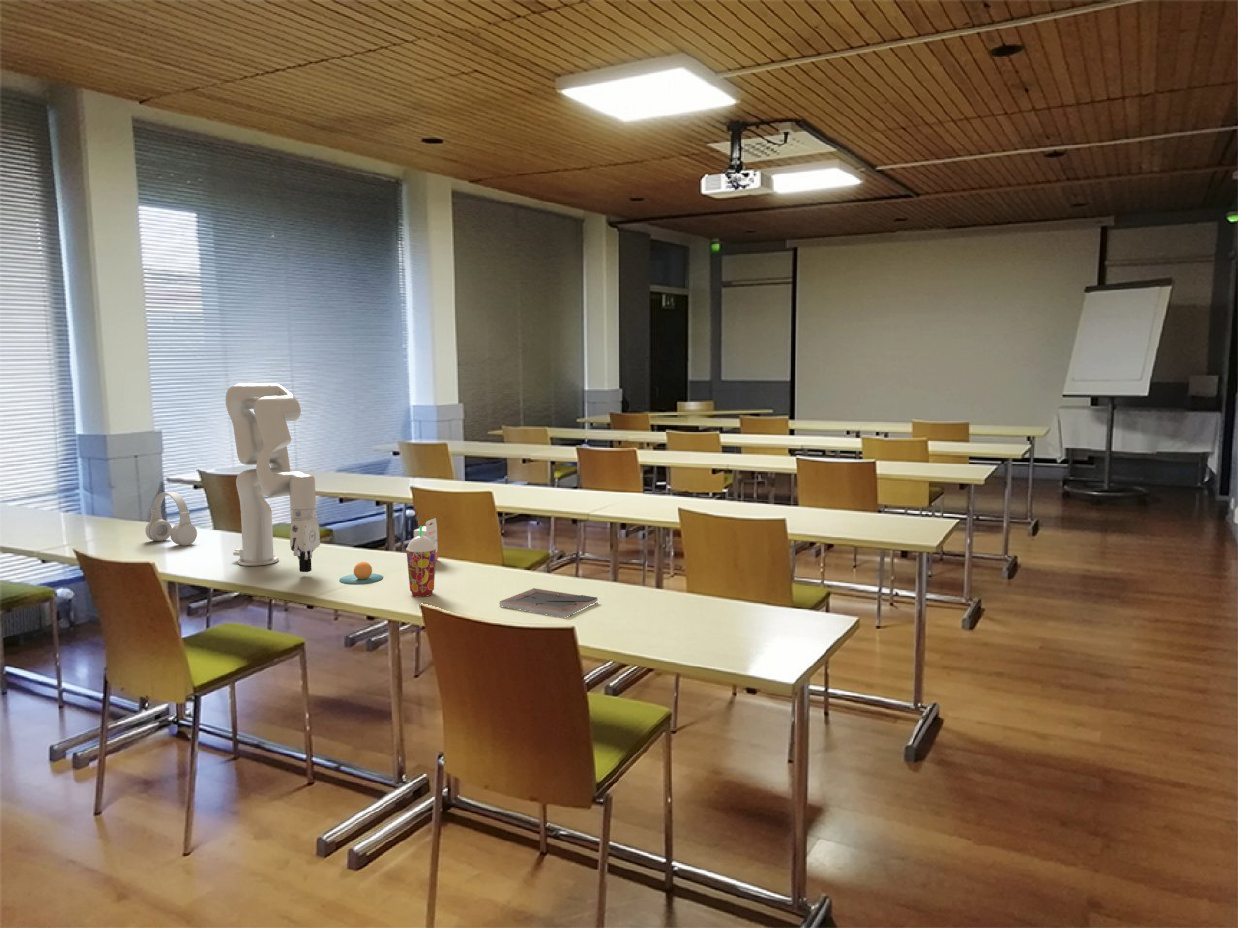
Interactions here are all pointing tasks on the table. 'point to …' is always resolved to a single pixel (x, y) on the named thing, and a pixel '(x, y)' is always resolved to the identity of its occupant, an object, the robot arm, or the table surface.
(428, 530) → the ink cartridge box
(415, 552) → the smoothie
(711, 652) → the table surface
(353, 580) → the disc
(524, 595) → the grey flat slab
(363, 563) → the ball
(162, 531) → the headphones
